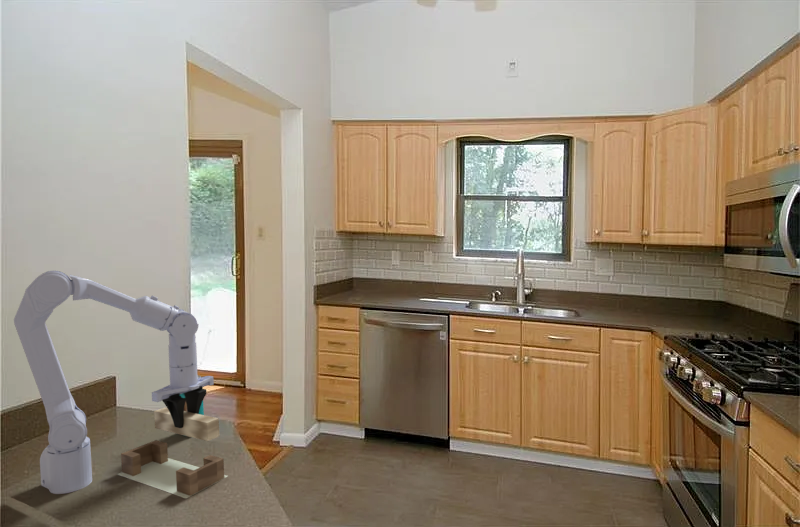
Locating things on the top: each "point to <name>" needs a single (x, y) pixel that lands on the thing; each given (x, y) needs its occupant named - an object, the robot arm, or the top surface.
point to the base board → (162, 475)
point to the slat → (188, 424)
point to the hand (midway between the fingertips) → (185, 424)
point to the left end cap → (143, 457)
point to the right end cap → (200, 476)
